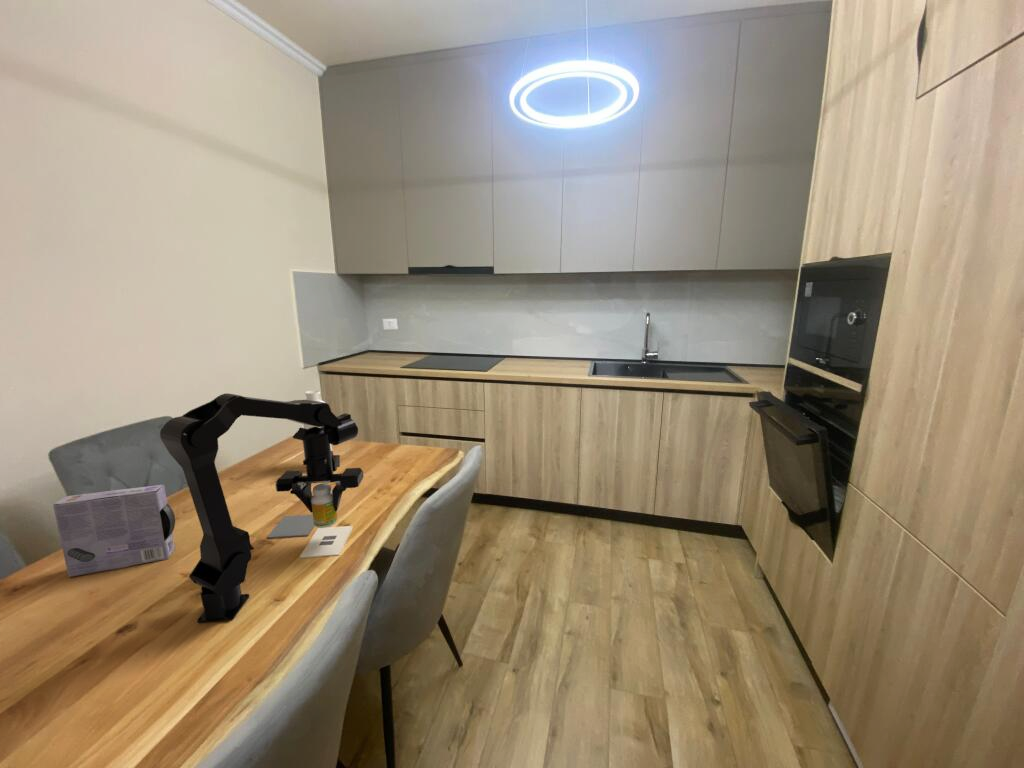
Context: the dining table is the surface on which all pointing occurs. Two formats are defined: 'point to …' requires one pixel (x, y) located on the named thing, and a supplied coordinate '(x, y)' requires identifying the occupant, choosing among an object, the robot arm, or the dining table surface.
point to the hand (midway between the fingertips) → (324, 510)
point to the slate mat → (293, 526)
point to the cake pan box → (115, 529)
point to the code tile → (327, 542)
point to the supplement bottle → (323, 506)
